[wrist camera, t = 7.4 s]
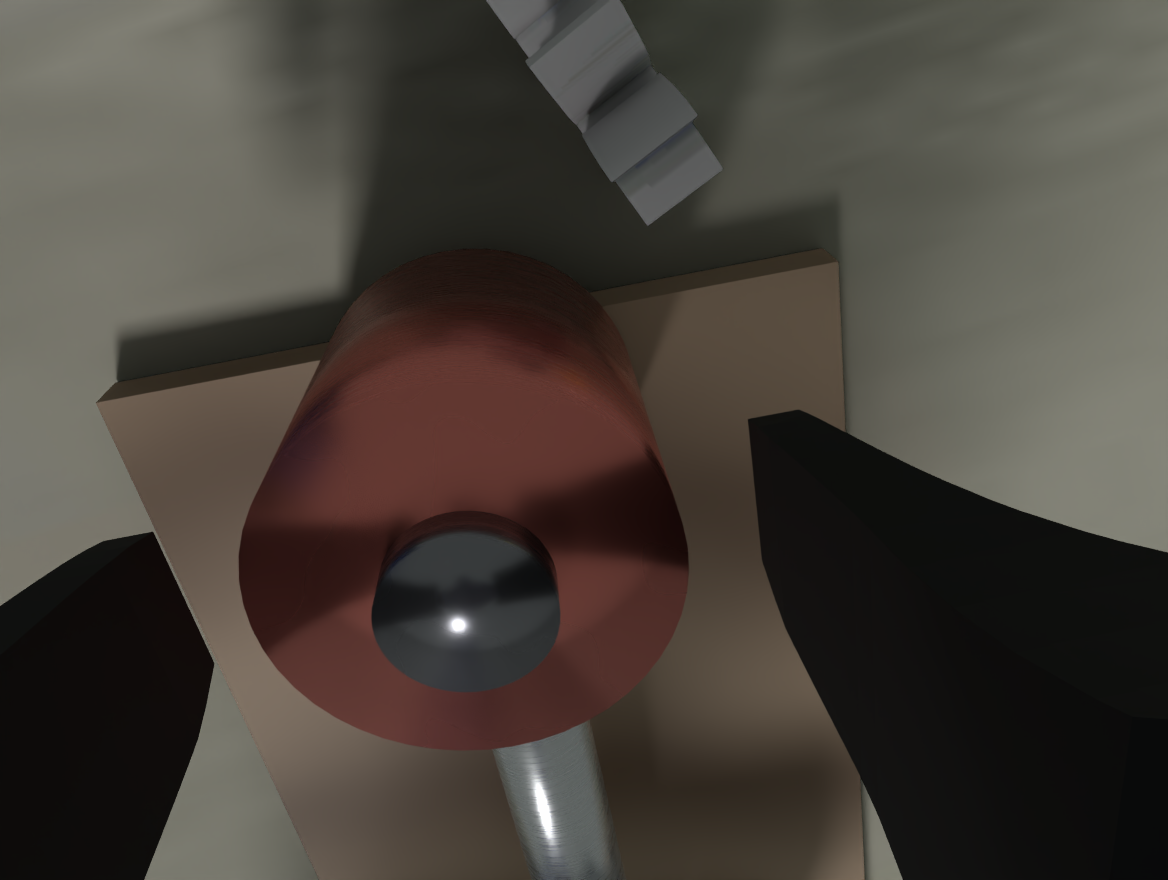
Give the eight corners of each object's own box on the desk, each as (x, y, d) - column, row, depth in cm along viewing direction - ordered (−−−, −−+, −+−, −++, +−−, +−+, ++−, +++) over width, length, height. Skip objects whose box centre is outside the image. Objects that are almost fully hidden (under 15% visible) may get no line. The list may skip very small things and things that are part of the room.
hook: (711, 862, 20) (778, 1153, 15) (489, 903, 20) (484, 1206, 15) (608, 220, 13) (668, 363, 9) (277, 282, 14) (145, 462, 9)
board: (860, 995, 25) (870, 1025, 24) (427, 1074, 25) (425, 1106, 24) (822, 248, 15) (838, 261, 14) (114, 382, 15) (95, 402, 14)
